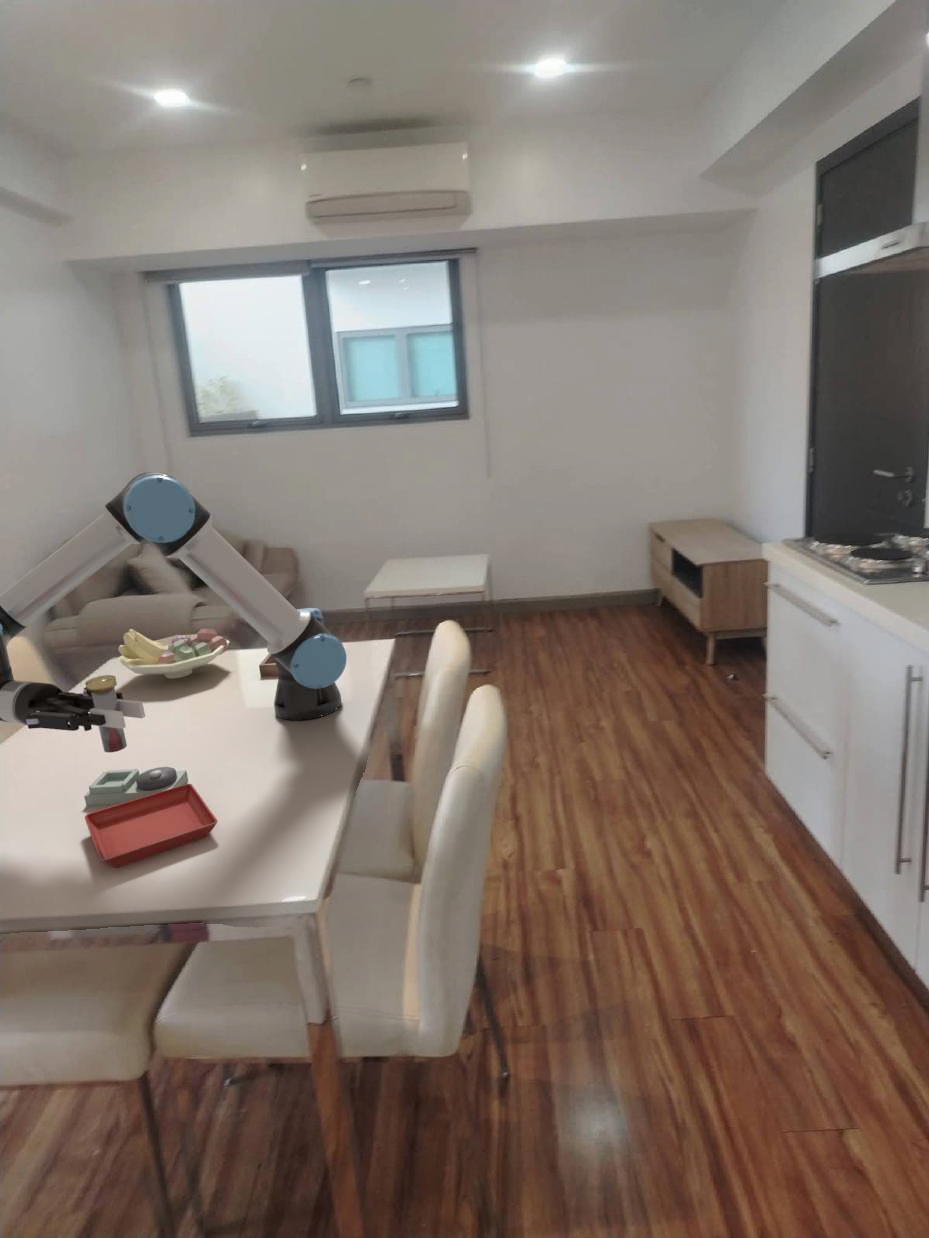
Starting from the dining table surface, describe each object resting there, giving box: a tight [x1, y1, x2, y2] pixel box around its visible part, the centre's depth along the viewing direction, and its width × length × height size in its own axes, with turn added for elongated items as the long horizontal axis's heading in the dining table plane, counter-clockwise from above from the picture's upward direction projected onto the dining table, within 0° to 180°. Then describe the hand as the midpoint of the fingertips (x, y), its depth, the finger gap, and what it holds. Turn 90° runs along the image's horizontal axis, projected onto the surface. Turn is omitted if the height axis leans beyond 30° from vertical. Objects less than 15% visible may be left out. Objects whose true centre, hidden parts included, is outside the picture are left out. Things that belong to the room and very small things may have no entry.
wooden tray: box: [258, 652, 277, 677], centre depth 214 cm, size 16×18×3 cm
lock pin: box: [84, 674, 128, 753], centre depth 132 cm, size 5×5×12 cm
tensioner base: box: [83, 766, 189, 807], centre depth 147 cm, size 16×8×4 cm, turn 88°
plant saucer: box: [84, 783, 218, 868], centre depth 133 cm, size 18×18×3 cm
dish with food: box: [117, 628, 230, 679], centre depth 212 cm, size 28×28×14 cm
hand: (132, 714), depth 130 cm, fingers closed on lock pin, 3 cm apart
